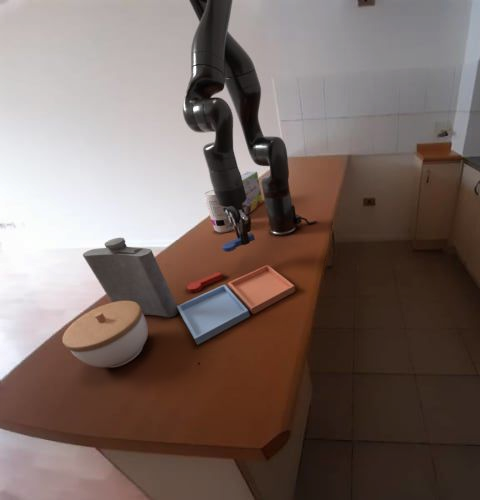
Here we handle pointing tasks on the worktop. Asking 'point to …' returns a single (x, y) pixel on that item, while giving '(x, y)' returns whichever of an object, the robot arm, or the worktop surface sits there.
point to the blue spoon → (235, 243)
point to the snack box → (251, 191)
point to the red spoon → (204, 282)
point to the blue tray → (212, 313)
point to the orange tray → (261, 288)
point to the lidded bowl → (108, 334)
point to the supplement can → (217, 213)
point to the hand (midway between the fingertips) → (244, 242)
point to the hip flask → (132, 277)
